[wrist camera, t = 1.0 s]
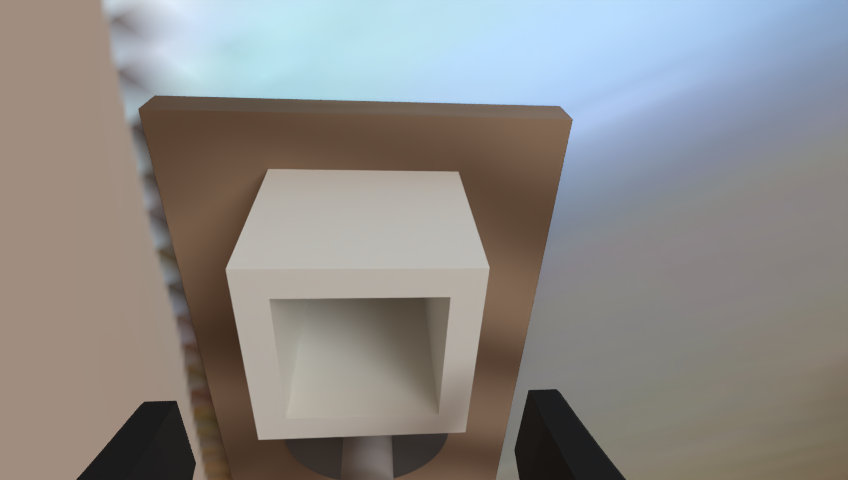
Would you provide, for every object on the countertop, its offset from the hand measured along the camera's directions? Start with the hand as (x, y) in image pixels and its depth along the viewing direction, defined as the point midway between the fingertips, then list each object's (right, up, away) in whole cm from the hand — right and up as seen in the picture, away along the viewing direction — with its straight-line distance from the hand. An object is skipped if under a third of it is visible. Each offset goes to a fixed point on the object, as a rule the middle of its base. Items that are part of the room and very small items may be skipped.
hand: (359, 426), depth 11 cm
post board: (-1, 0, +9) cm, 9 cm away
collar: (-1, +4, +6) cm, 7 cm away
